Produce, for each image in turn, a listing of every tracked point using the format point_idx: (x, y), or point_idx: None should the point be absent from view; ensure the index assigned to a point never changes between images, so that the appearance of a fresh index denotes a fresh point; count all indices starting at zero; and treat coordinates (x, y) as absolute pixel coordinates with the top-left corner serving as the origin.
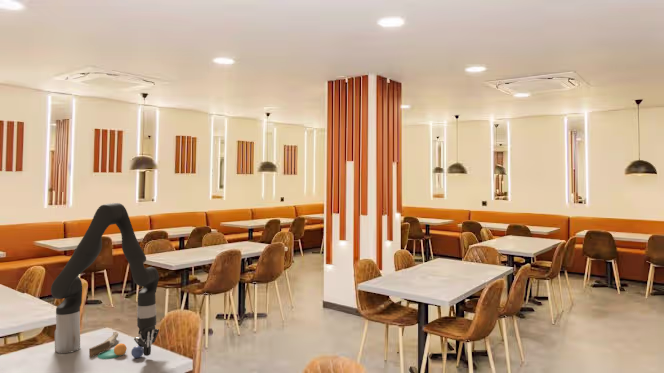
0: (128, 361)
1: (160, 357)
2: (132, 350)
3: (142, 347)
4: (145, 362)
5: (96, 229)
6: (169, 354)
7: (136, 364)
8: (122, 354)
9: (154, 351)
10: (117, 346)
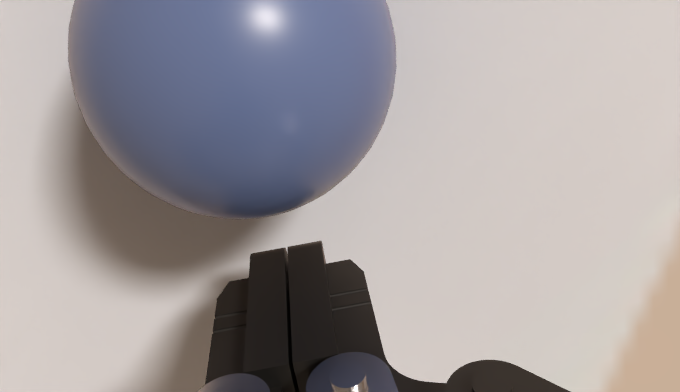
0: (4, 30)
1: (424, 365)
2: (73, 39)
3: (331, 179)
4: (174, 334)
5: None
6: (561, 382)
7: (32, 282)
8: None
9: (616, 76)
10: None
